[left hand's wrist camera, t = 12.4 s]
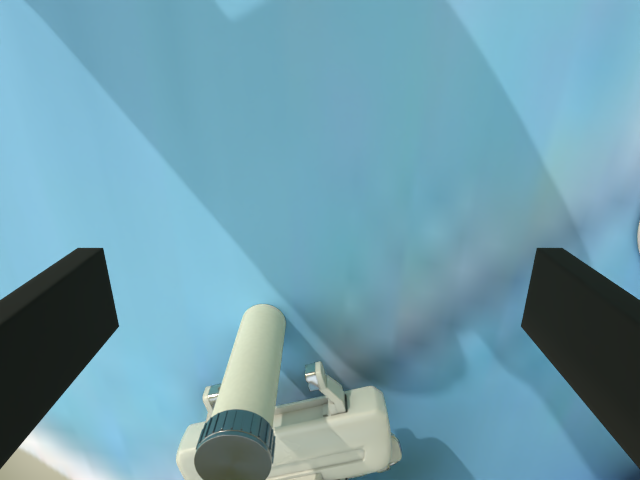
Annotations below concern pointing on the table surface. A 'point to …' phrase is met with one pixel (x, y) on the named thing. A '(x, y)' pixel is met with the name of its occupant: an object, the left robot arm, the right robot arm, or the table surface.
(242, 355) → the cream long cylinder
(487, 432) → the table surface
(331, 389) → the right robot arm
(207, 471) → the lid
